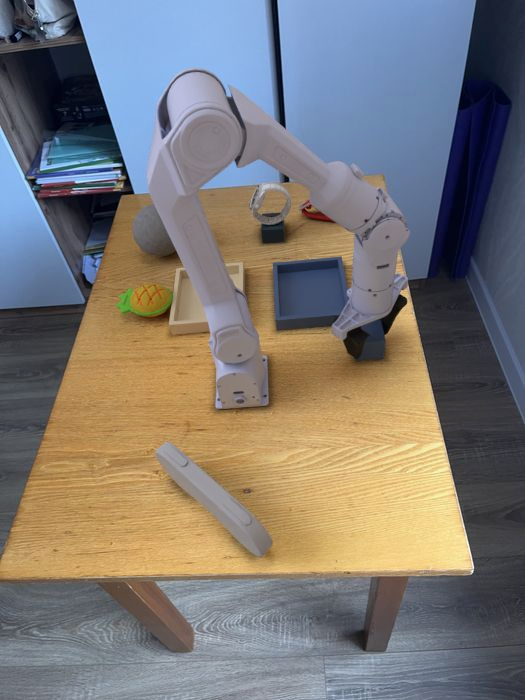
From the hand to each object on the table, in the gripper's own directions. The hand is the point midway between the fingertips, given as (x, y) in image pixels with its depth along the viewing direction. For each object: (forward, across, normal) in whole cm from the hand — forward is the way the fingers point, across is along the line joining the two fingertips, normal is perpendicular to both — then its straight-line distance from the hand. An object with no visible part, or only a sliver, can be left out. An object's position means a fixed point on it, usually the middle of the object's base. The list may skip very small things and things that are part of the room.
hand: (367, 342), depth 80 cm
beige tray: (+2, +10, -28) cm, 30 cm away
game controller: (+2, +34, +3) cm, 34 cm away
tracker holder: (+2, -24, -30) cm, 38 cm away
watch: (+2, -11, -33) cm, 35 cm away
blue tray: (+2, -3, -15) cm, 15 cm away
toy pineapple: (+2, +19, -34) cm, 39 cm away
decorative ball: (+2, +7, -46) cm, 47 cm away
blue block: (+2, 0, 0) cm, 2 cm away
